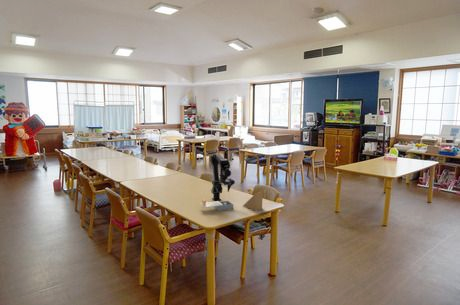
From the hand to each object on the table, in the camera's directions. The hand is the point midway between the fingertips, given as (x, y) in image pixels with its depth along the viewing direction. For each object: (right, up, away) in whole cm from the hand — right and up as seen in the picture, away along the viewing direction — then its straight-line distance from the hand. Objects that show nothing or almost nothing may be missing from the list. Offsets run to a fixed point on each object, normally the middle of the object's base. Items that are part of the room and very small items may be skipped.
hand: (223, 192), depth 257 cm
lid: (-9, -9, -10) cm, 16 cm away
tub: (0, -13, -5) cm, 14 cm away
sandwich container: (+24, -13, -1) cm, 28 cm away
